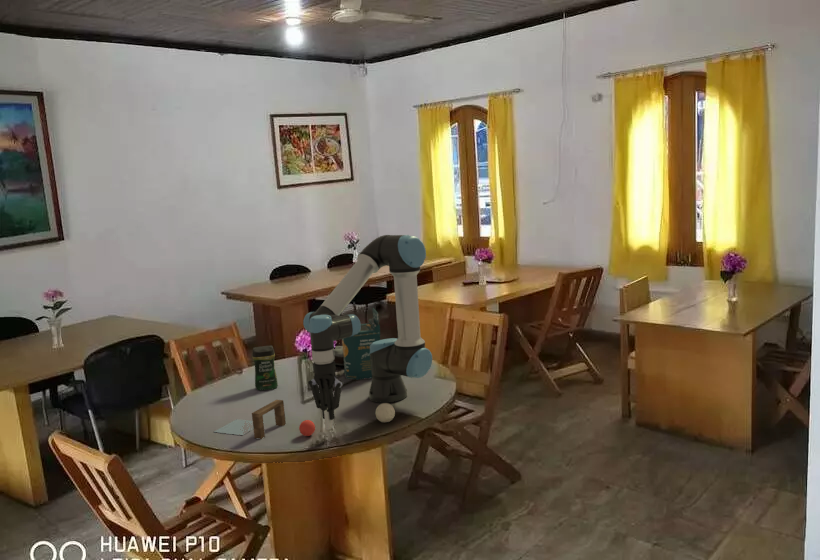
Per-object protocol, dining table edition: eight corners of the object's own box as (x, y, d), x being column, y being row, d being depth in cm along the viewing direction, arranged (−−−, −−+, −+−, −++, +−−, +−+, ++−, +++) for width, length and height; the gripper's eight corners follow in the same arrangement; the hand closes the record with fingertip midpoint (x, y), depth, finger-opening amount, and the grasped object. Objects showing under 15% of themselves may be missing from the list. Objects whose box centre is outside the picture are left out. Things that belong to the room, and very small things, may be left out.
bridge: (285, 424, 256) (283, 400, 255) (261, 439, 243) (258, 413, 242) (279, 423, 258) (276, 399, 256) (254, 438, 245) (251, 413, 243)
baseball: (384, 426, 246) (382, 408, 245) (373, 421, 252) (371, 404, 251) (399, 421, 250) (398, 403, 249) (388, 416, 256) (386, 399, 255)
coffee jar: (255, 392, 297) (250, 350, 294) (255, 387, 305) (251, 345, 302) (278, 389, 299) (274, 347, 296) (278, 384, 307) (273, 343, 304)
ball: (318, 433, 245) (317, 418, 244) (310, 439, 240) (308, 424, 239) (305, 431, 247) (304, 417, 246) (296, 437, 242) (295, 422, 241)
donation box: (384, 376, 307) (378, 314, 302) (347, 381, 304) (341, 318, 299) (377, 366, 322) (372, 307, 318) (343, 371, 319) (337, 311, 315)
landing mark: (264, 422, 260) (264, 422, 259) (242, 435, 248) (242, 435, 248) (236, 419, 265) (236, 419, 265) (213, 432, 254) (213, 431, 254)
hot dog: (317, 365, 333) (315, 349, 332) (334, 359, 341) (333, 343, 340) (343, 370, 321) (341, 354, 320) (360, 364, 329) (359, 348, 328)
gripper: (346, 359, 236) (351, 426, 239) (313, 357, 241) (319, 422, 245) (334, 365, 229) (340, 434, 232) (301, 363, 235) (307, 430, 238)
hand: (329, 428), depth 239 cm, fingers closed
